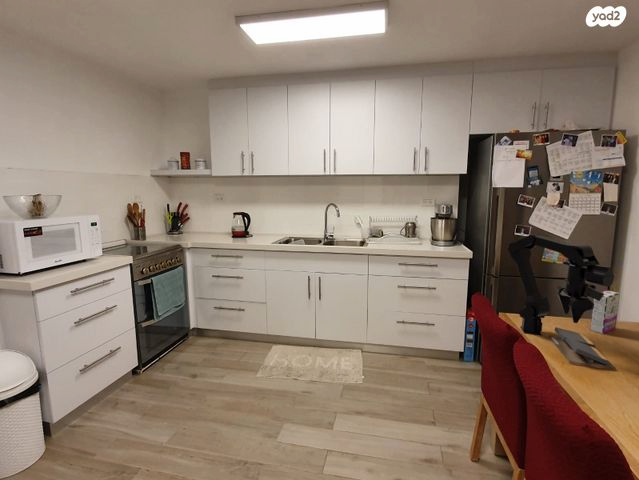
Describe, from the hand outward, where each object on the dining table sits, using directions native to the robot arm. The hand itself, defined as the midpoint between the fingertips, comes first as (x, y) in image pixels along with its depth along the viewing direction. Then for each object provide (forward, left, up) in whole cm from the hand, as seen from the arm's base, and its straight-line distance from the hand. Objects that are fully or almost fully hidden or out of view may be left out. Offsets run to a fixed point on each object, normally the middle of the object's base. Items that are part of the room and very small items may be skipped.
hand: (570, 318), depth 127 cm
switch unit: (+3, -4, -12) cm, 12 cm away
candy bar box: (+21, +24, -12) cm, 34 cm away
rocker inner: (+3, +2, -8) cm, 9 cm away
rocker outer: (+3, -9, -8) cm, 12 cm away
